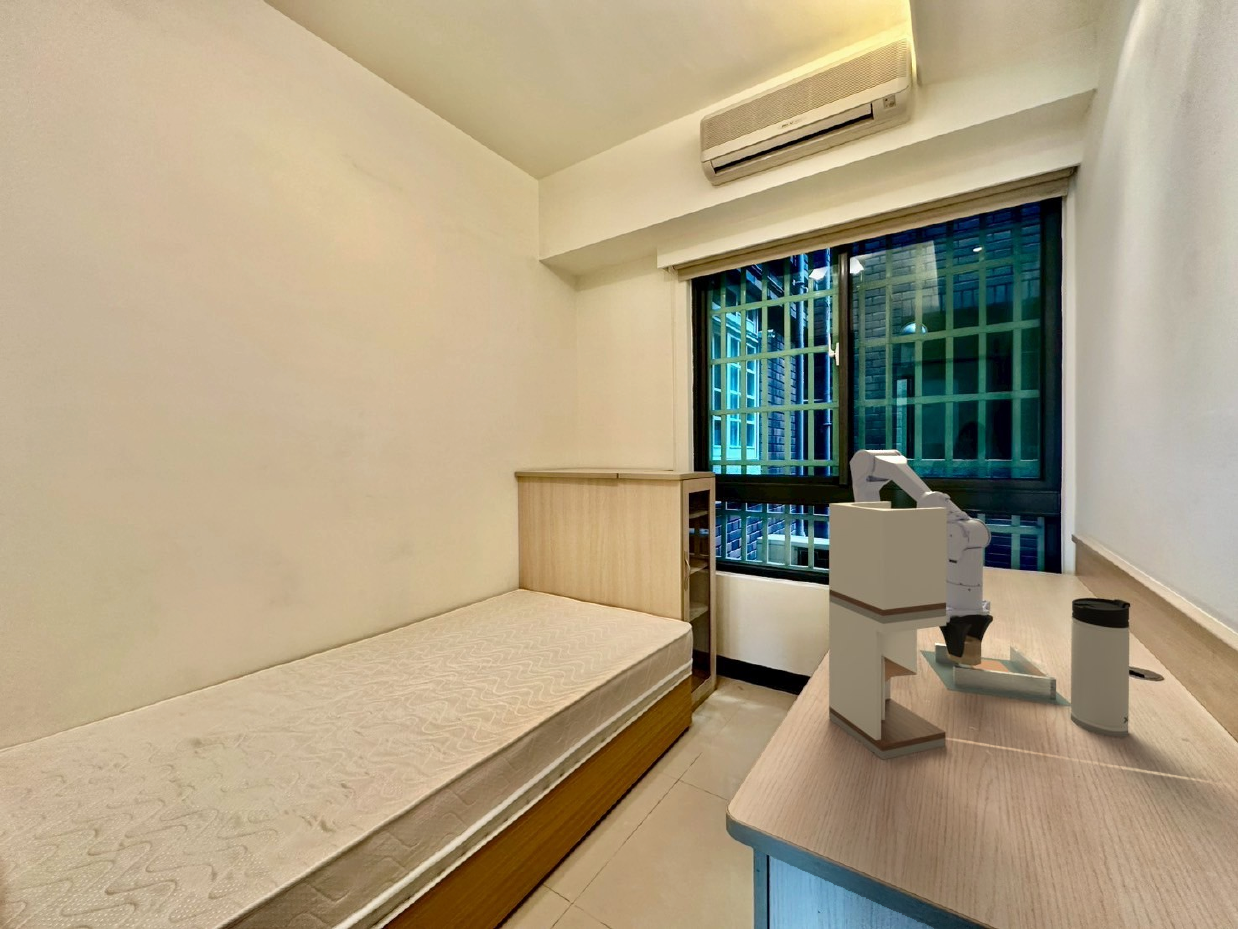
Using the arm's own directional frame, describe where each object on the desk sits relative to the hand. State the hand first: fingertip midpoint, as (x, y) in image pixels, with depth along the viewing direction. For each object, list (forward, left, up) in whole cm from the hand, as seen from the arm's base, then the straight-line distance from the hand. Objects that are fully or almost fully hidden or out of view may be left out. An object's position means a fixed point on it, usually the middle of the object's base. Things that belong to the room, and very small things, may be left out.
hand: (963, 652), depth 89 cm
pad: (+6, +6, -4) cm, 9 cm away
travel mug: (+14, -13, -5) cm, 20 cm away
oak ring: (0, 0, -1) cm, 1 cm away
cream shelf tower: (-18, -25, -5) cm, 31 cm away
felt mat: (+4, +2, -5) cm, 7 cm away
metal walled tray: (+4, +2, -4) cm, 6 cm away
